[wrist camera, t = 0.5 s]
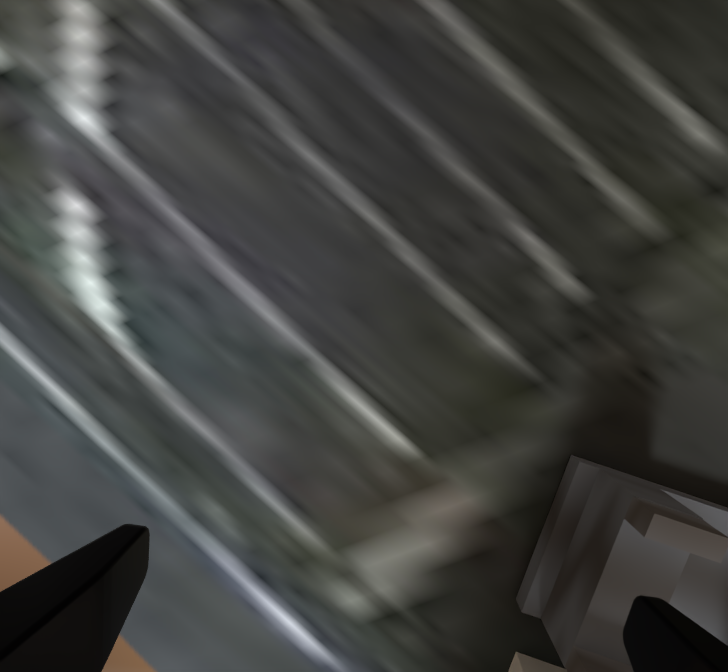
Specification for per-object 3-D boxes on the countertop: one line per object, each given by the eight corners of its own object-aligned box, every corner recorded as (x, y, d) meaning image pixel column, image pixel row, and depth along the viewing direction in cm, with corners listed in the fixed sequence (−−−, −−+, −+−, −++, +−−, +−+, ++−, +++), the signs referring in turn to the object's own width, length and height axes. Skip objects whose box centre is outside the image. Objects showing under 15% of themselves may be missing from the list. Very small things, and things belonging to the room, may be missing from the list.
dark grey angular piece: (780, 690, 23) (901, 810, 18) (515, 598, 24) (554, 689, 18) (844, 547, 23) (992, 626, 17) (571, 454, 23) (629, 503, 17)
